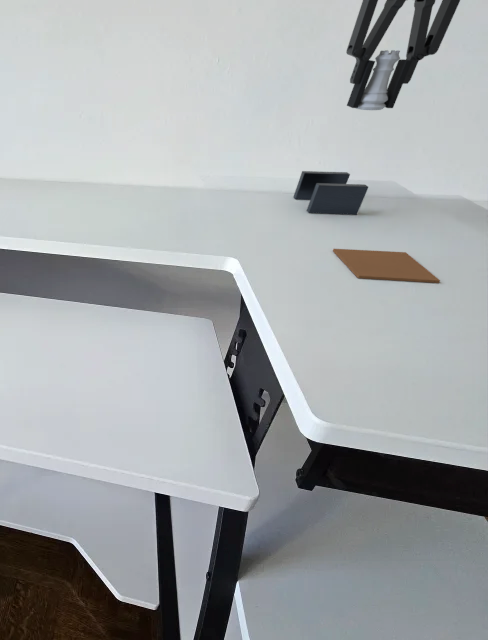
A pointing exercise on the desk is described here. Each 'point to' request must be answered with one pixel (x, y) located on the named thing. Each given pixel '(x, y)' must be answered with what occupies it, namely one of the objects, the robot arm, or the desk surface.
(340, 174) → the stand
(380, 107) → the rook chess piece
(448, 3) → the robot arm
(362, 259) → the mat
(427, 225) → the desk surface
